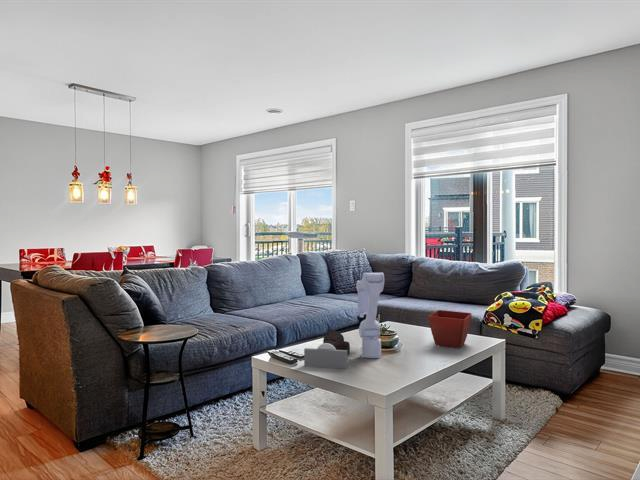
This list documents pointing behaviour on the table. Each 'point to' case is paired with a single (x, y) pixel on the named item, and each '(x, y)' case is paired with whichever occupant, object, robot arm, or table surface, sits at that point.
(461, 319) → the plant pot
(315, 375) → the table surface
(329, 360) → the duct panel
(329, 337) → the dark brown rounded piece
